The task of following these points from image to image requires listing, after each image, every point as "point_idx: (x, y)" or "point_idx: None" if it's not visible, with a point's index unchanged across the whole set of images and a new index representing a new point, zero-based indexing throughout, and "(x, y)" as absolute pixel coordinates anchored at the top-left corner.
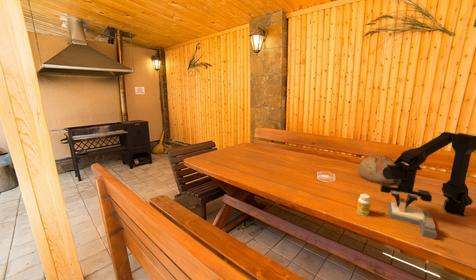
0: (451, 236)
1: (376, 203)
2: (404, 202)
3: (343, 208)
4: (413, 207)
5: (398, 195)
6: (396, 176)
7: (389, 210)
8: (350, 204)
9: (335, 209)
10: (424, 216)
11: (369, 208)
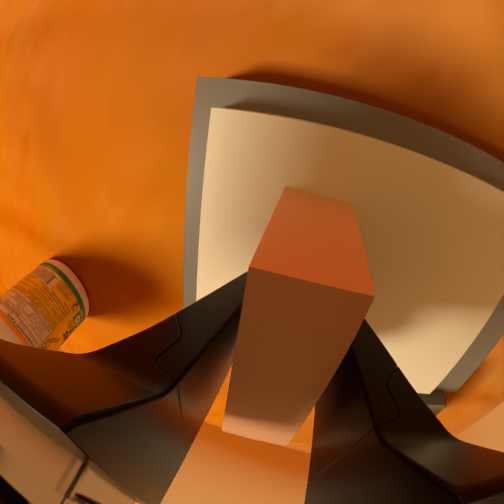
0: (479, 388)
1: (115, 93)
2: (283, 426)
3: (12, 266)
4: (481, 200)
5: (139, 502)
6: None
7: (184, 283)
8: (11, 211)
9: (5, 281)
10: (461, 355)
11: (61, 341)
